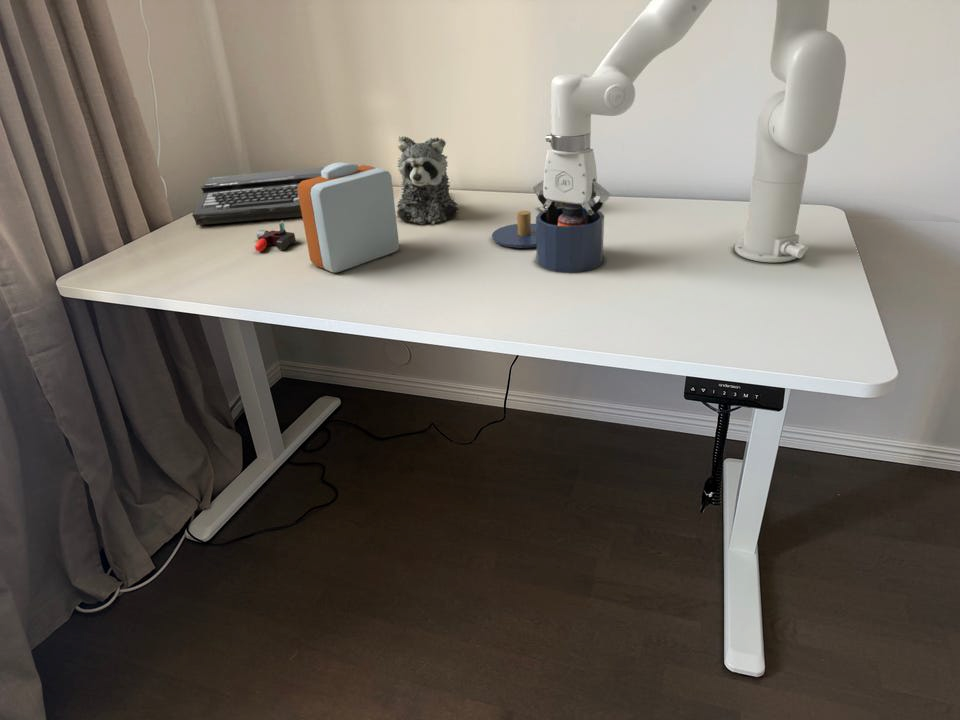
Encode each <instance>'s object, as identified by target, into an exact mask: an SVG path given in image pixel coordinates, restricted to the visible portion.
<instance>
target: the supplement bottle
mask: <svg viewBox="0 0 960 720" xmlns="http://www.w3.org/2000/svg"><path fill="white" fill-rule="evenodd" d="M583 207H584V206H583V204H572V203H568V204H565V205H563V214H562V215H560V216H559V218H558V226H580V225H585V215H584V214H583V213H582V212H583V210H582V208H583Z"/></svg>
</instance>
